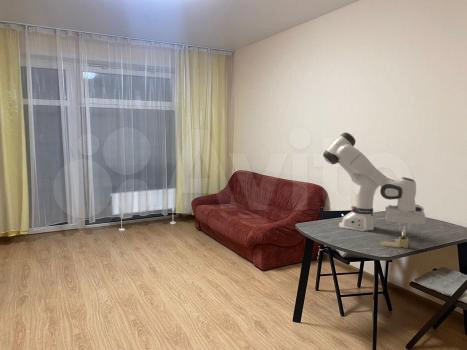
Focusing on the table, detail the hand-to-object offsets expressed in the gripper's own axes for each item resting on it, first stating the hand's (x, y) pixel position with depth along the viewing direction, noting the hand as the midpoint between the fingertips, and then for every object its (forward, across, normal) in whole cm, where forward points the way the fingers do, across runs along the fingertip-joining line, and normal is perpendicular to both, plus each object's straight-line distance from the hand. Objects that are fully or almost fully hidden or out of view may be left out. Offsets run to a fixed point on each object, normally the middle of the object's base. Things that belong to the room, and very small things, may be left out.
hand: (403, 230), depth 196 cm
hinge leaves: (+10, -4, +4) cm, 11 cm away
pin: (+4, 0, 0) cm, 4 cm away
